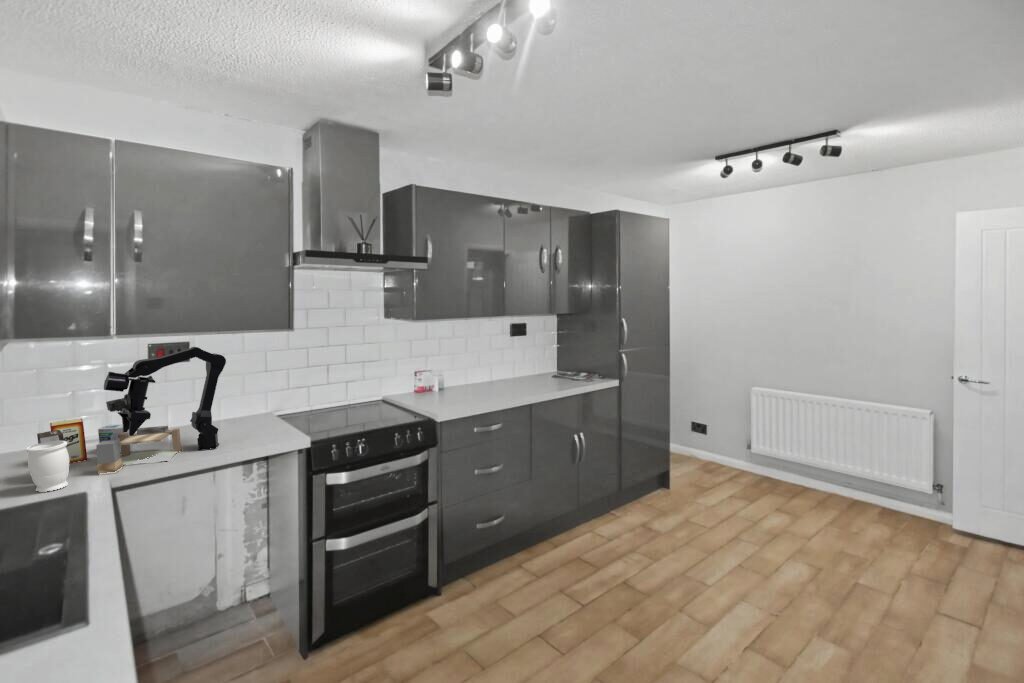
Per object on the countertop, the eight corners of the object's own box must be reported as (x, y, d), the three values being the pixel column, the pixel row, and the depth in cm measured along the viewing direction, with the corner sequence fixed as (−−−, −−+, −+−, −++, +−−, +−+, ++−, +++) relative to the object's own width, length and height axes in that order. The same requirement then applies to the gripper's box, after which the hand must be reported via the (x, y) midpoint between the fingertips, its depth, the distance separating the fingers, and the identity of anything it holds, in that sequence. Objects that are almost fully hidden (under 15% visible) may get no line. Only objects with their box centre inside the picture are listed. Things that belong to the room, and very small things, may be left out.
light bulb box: (99, 454, 211) (96, 428, 209) (111, 449, 217) (109, 424, 216) (126, 453, 211) (124, 427, 210) (138, 448, 218) (135, 423, 216)
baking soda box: (86, 456, 209) (81, 417, 207) (87, 460, 204) (82, 420, 202) (54, 462, 202) (49, 422, 200) (55, 466, 197) (50, 425, 196)
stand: (182, 449, 214) (180, 427, 213) (169, 461, 200) (166, 437, 199) (126, 455, 209) (123, 432, 208) (108, 467, 195) (105, 443, 194)
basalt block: (120, 458, 193) (118, 439, 192) (115, 462, 188) (112, 443, 187) (104, 459, 191) (102, 441, 191) (98, 464, 187) (96, 445, 186)
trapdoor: (174, 431, 214) (173, 425, 214) (160, 442, 200) (159, 434, 200) (134, 435, 211) (134, 428, 210) (118, 445, 197) (117, 438, 197)
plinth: (122, 468, 193) (121, 457, 193) (115, 473, 188) (114, 462, 188) (105, 470, 192) (104, 459, 192) (98, 475, 187) (97, 464, 186)
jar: (73, 487, 175) (68, 444, 174) (32, 497, 168) (26, 452, 167) (70, 479, 183) (65, 438, 181) (31, 488, 176) (25, 445, 174)
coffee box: (69, 477, 185) (63, 433, 183) (45, 483, 180) (39, 438, 179) (64, 471, 191) (59, 429, 189) (41, 476, 187) (36, 433, 185)
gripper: (104, 387, 197) (94, 428, 196) (119, 394, 185) (109, 438, 184) (138, 390, 206) (129, 429, 204) (155, 397, 194) (145, 439, 193)
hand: (127, 433), depth 196 cm, fingers open, 6 cm apart
